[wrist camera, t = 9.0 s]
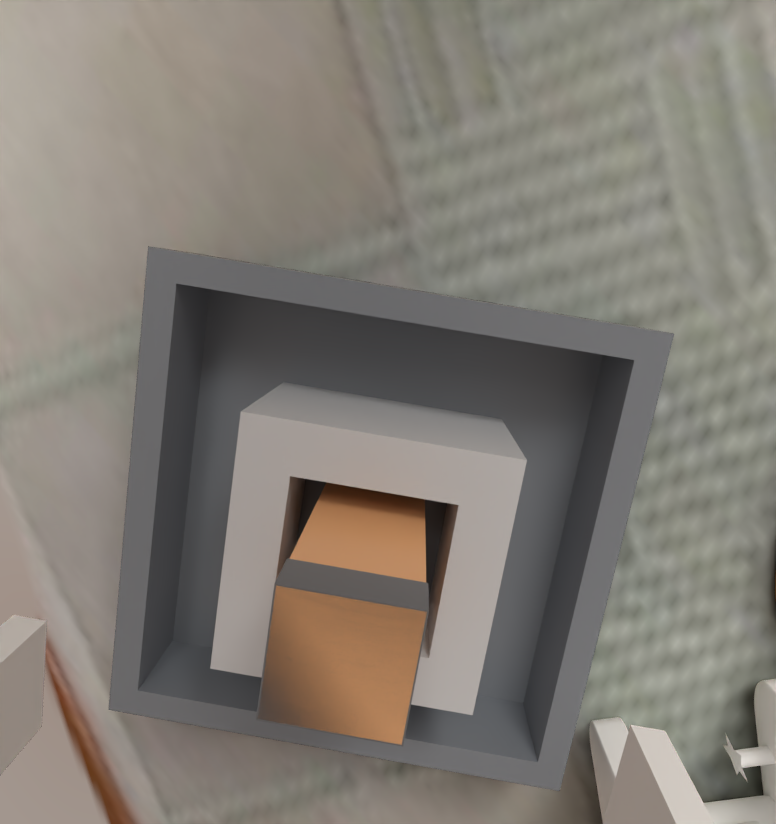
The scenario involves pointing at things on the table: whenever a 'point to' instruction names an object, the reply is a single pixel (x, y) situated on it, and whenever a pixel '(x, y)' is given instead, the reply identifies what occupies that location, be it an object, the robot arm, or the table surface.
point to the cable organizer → (736, 818)
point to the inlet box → (386, 472)
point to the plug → (349, 618)
